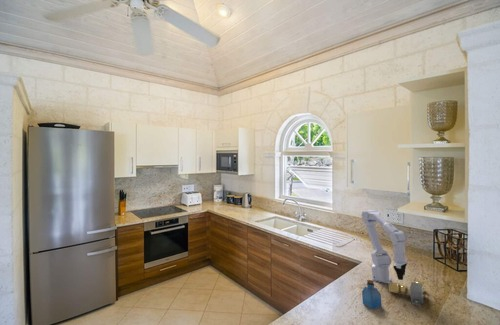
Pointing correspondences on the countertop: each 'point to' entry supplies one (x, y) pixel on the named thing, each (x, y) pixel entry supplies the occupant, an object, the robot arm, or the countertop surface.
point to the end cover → (398, 288)
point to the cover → (420, 283)
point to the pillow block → (416, 293)
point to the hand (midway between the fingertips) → (401, 277)
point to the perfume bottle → (371, 295)
